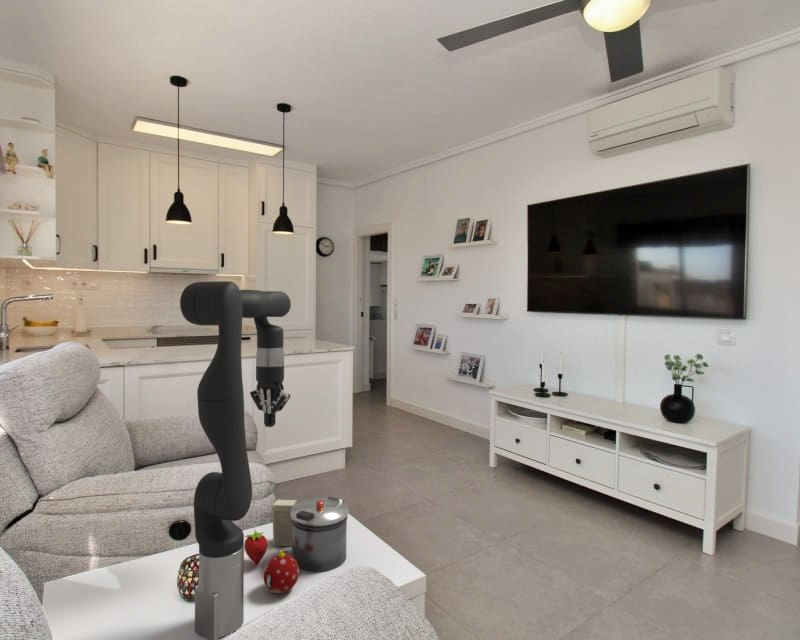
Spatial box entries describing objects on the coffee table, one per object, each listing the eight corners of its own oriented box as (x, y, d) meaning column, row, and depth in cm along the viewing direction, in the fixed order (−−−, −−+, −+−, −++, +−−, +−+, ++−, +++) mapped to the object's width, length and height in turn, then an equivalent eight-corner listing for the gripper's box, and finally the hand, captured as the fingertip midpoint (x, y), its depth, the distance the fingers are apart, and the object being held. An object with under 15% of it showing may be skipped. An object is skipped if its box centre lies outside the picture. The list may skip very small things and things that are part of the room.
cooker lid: (326, 532, 123) (326, 519, 122) (278, 519, 130) (278, 506, 130) (360, 508, 138) (360, 496, 137) (315, 497, 145) (315, 486, 145)
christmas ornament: (306, 587, 119) (306, 548, 119) (280, 605, 112) (280, 563, 112) (281, 576, 124) (282, 538, 124) (255, 593, 117) (255, 552, 116)
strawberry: (248, 574, 125) (248, 536, 125) (241, 561, 131) (241, 525, 131) (271, 567, 128) (271, 531, 128) (262, 555, 135) (262, 520, 134)
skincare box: (297, 539, 144) (298, 499, 143) (293, 547, 139) (293, 505, 139) (277, 538, 144) (277, 498, 144) (271, 545, 140) (272, 504, 140)
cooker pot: (325, 578, 123) (326, 532, 123) (279, 563, 130) (279, 520, 130) (357, 551, 137) (357, 510, 137) (314, 539, 144) (314, 500, 144)
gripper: (242, 363, 131) (241, 426, 132) (279, 366, 125) (279, 432, 126) (261, 361, 138) (261, 420, 138) (298, 364, 132) (297, 426, 132)
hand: (269, 426), depth 132 cm, fingers closed
